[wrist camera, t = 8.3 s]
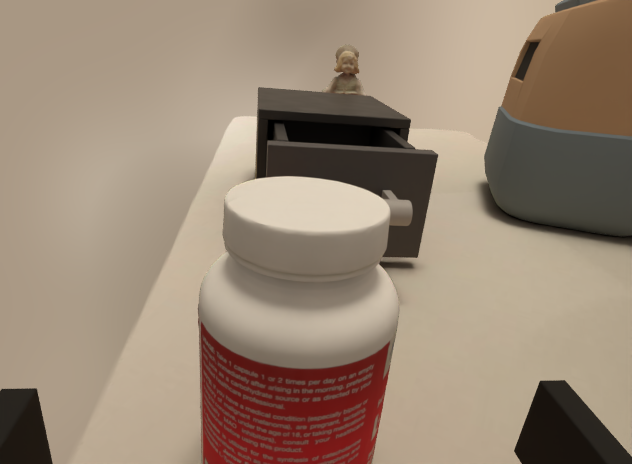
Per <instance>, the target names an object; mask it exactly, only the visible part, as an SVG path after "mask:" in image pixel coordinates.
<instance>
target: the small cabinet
mask: <svg viewBox="0 0 632 464" xmlns="http://www.w3.org/2000/svg"><path fill="white" fill-rule="evenodd" d="M272 120H285V121H300V122H315V123H330V124H345V125H360V126H374V127H388V128H389V129H390V130H392V131H393V132H395V133H396V134H397V135H399V136H400V137H401V138H403V139H404V140H405V141H407V140H408V134H409V128H410V122H411V120H410V119H409V118H407V117H405V116H404V115H402V114H400V113H399V112H397V111H395V110H394V109H392V108H390V107H388V106H387V105H385V104H383V103H382V102H380V101H378V100H376V99H374V98H373V97H371V96H364V95H351V94H338V93H325V92H312V91H298V90H286V89H273V88H260V87H259V88H258V110H257V139H256V169H255V179H259V178H266V162H267V141H268V140H269V141H271V132H272Z"/></svg>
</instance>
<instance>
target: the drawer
mask: <svg viewBox="0 0 632 464" xmlns="http://www.w3.org/2000/svg"><path fill="white" fill-rule="evenodd" d="M437 158H438V154H436V153H435V152H434V151H432V150H418V149H415V147H413V146H412V145H411V144H409V143H408V142H407V141H405V140H404V139H403V138H401V137H400V136H399V135H397V134H396V133H395V132H393V131H392V130H390V129H389V128H388V127H374V126H360V125H345V124H330V123H315V122H300V121H285V120H272V132H271V141H269V140H268V141H267V162H266V178H268V177H283V176H294V177H309V178H319V179H325V180H332V181H338V182H342V183H346V184H350V185H353V186H356V187H360V188H362V189H365V190H368V191H370V192H372V193H374V194H376V195H377V196H379V197H381V198H382V199H383V200H385V201H386V203H387V204H388V205H389V208H390V222H389V232H388V241H387V249H386V251H385V253H384V254H383V256H382V257H413V258H417V257H418V253H419V248H420V243H421V238H422V233H423V228H424V223H425V218H426V213H427V208H428V203H429V198H430V193H431V188H432V183H433V178H434V173H435V168H436V163H437Z"/></svg>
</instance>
